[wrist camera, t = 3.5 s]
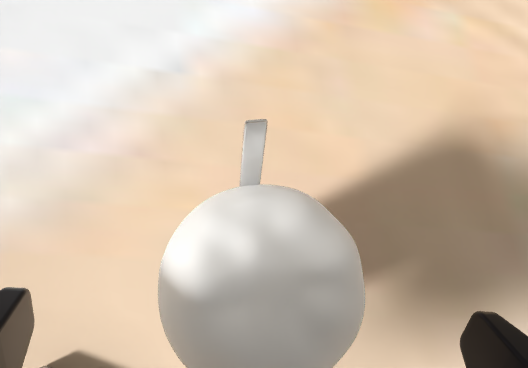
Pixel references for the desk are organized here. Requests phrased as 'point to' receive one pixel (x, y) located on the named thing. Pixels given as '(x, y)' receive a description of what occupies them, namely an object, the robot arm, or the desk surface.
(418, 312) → the desk surface
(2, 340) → the robot arm
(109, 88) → the desk surface
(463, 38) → the desk surface
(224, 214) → the milkshake
